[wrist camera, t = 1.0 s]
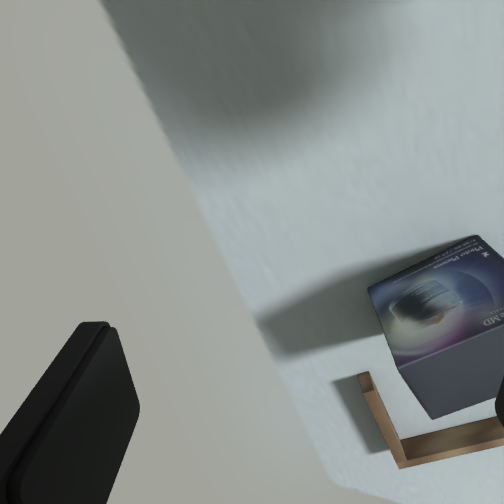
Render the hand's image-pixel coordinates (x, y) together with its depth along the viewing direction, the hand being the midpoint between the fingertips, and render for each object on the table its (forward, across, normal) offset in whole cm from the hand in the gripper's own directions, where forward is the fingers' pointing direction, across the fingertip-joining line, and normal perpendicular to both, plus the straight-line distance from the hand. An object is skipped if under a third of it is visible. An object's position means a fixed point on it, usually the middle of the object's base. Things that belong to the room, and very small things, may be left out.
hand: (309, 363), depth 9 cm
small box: (+23, -13, +14) cm, 30 cm away
